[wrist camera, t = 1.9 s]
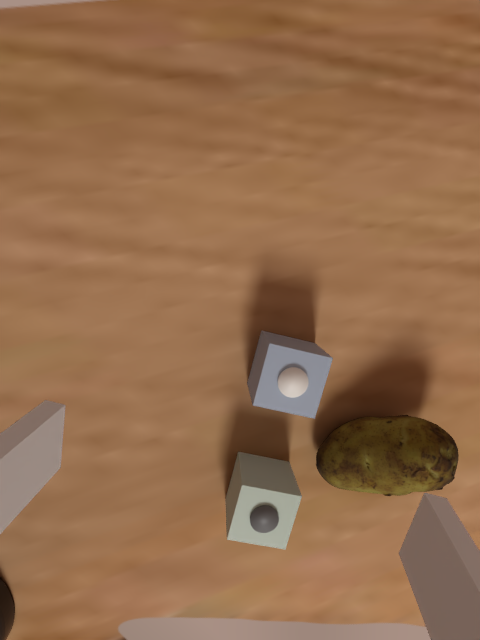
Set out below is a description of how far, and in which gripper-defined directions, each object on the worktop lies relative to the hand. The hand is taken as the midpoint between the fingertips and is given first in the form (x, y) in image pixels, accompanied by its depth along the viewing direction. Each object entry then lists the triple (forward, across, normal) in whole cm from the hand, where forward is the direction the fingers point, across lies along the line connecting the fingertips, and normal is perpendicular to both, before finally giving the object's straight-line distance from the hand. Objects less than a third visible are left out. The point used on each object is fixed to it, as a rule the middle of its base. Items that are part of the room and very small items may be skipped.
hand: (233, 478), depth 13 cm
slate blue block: (+25, -3, +5) cm, 26 cm away
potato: (+26, -15, +12) cm, 32 cm away
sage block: (+24, -4, +19) cm, 30 cm away
